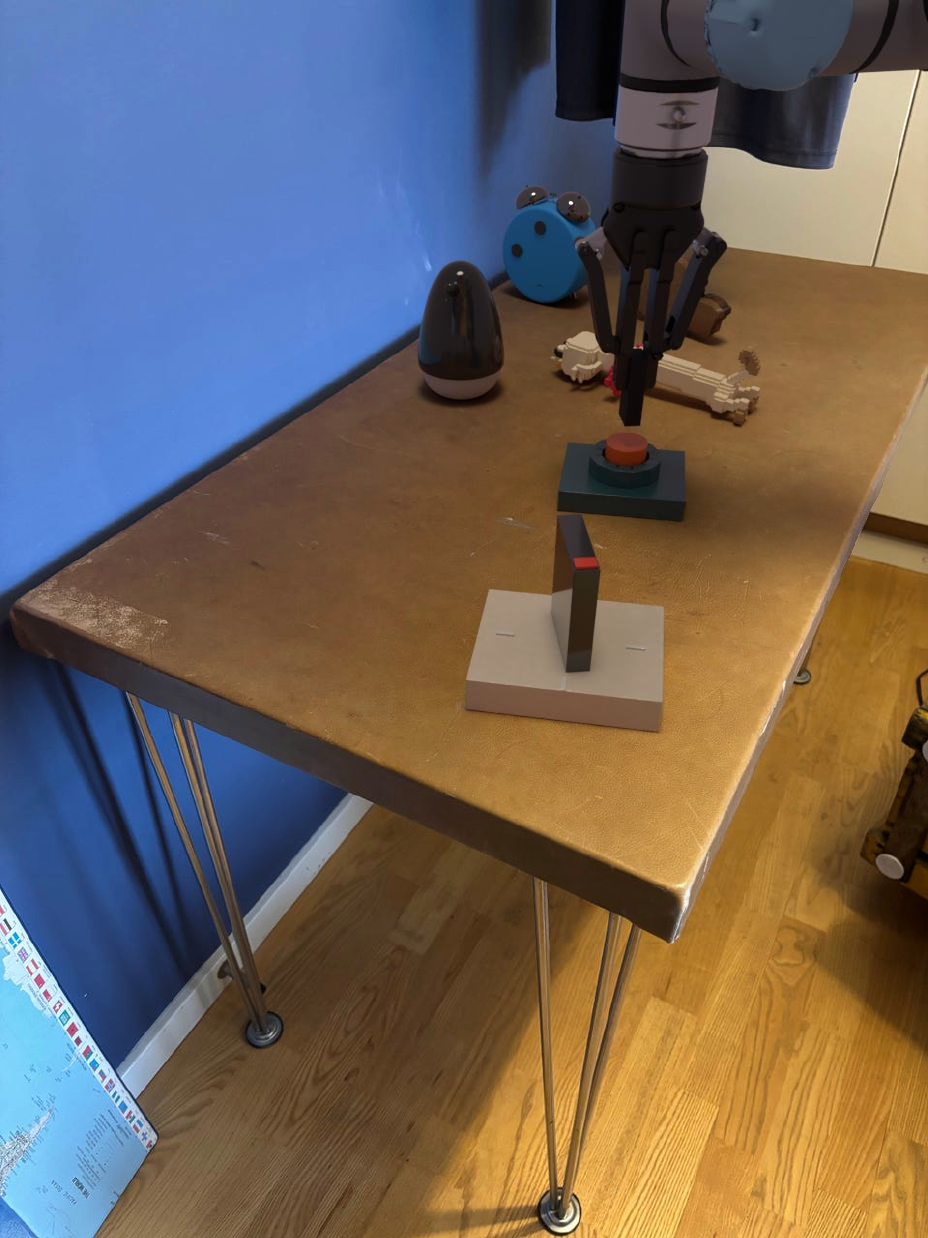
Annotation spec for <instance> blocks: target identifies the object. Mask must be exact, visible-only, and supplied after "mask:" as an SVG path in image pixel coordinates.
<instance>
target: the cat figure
mask: <svg viewBox="0 0 928 1238" xmlns="http://www.w3.org/2000/svg"><path fill="white" fill-rule="evenodd" d="M634 348H642V350H643V344H642V343H640V344H639V343H637V344H636V346H634ZM553 354H554V356H551V357H550V360H551V361H553V362H554V364H556V365H555V367H556V368H558V369H560V370H562V371H563V373H564V375H567V376H570V379H571V380H572V381H574V382H575V381H576V380H577V382H578V383H579V384H582V383H583V381H589V380H590V379H593V377H595V376H596V375H597V374H598V373H599V372H601V371H603V372H605V373H606V372H607V373H608V376H607V377H606V378H604V382H603V384H604V386H605V387H608V388H609V389H611V391H612V394H613V395H614V396H616V397H617V398H620V395H621V391H617V390H616V388H615V386H614V384H613V381H612V374H613V364H614V354H611V353H603V352H602V351H601V349H600V347H599V345H598V343H597V341H596V338H595V332H594V333H593V332H590V331H588V330H586V331H583V330H582V331H581V332H579V333H578V334H577V335H575V336H574V337H569V338H568V339H566V340H564V341H563V343H562V344H559V345H557V346H556V347H554V349H553ZM663 354H664V356H663V358H662V359H661V360H660V361H659V363H658V370H657V377H656V384H658V385H661V386H664V387H667V388H671V389H674V390H677V391H680V392H681V393H682V395H684V396H688V397H690V398H694V399H696V400H699V401H703V402H705V404H706V405H707V406H709V408H711V411H712V412H716V413H719V414H724V413H726V412H727V411H729V412H732V413H734V415H733V417H732V423H734V424H737V425H740V426H741V425H742V424H743V423H744V422H745V418H746V417H747V416H748V413H753V412H754V411H755V408H756V405H757V404H758V402H759V398H760V391H761V387H759V386H755V385H752V386H751V387H749V386H746V387H741V384H740V383H741V382H742V381H743V382H747V381H748V380H751V379H753V378H754V377H757V376H758V375H759V374H760V371H761V367H762V365H760V361H761V360H760V359H759V356H758V355H757V352H755V349H753V348H750V347H745V348H742V349H741V350H740V351H739V355H738V359H737V361H739V363H740V364H742V365H744V368H742V369H741V370H738V371H736V372H735V373H732V374H731V375H729V376H728V377H726V374H722V373H719V372H717V371H713V370H710V369H707V368H703V367H702V365H701V364H699V363H696V362H693V361H689V360H686V359H683V358H680V357H676V356H673V355H670V354H667V353H665V352H664V353H663ZM557 358H559V359H557Z"/></svg>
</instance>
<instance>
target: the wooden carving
mask: <svg viewBox="0 0 928 1238" xmlns="http://www.w3.org/2000/svg"><path fill="white" fill-rule="evenodd" d="M690 258H691V257H689V256H688V255H686V254H685V253H684V254H683V255H682V256H681V258H680V259H679V260H678V261H677V262H676V263H675V268H674V276H673V280H672V282H671V285H670V293H669V300H668V308H667V315H666V322H667V319H668V317H669V314H670V311H671V309H672V306H673V303H674V301H675V298H676V295H677V293H678V290H679V287H680V285H681V282H682V279H683V277H684V274H685V271H686V269H687V266H688V263H689V261H690ZM649 279H650V270H649V269H645V270H644V279H643V282H642V284H641V290H640V299H639V307H638V312H640V313H641V314H642V315H643V317H645V313H646V305H647V296H648V287H649ZM708 284H709V279H708V280H707V282H706V285H705V287H704V290H703V293H702V295H701V298H700V300H699V303H698V305H697V308H696V310H695V313H694V316H693V318H692V321H691V323H690V326H689V328H688V331H692V332H693V333H694V334H695V335H697V336H698V337H700V338H704V339H709V338H711V337H713V336H714V334H715V333H718V332H720V330H721V328H722V324H723V321H725V320H726V319H727V317H728V316H729V315H730V314H731V313H732V306H730V305H729V303H728V301H727V300H726V299H725V298H724V297H722V296H720V295H717V294H716V293H710V292H709V293H706V287H707V285H708ZM705 293H706V294H705ZM665 325H666V323H665Z"/></svg>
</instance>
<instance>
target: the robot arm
mask: <svg viewBox="0 0 928 1238" xmlns="http://www.w3.org/2000/svg"><path fill="white" fill-rule="evenodd" d="M624 3H625V4H624V16H623V29H622V30H623V31H622V43H621V44H622V45H621V57H620V74H619V83H618V90H617V100H616V101H617V102H616V112H615V121H614V122H615V123H614V134H613V138H614V140H615V141H616V142H617V144H619V145H618V147H616V148H615V150H614V151H613V152H612V156H611V168H610V178H609V179H610V180H609V191H608V203H607V206H606V210H605V212H603V215H602V216H601V219H600V224H599V226H600V227H598V228H597V229H596V230H595V231H594V232H592V233H591V234H589V235H588V236H587V237H583V236H579V237H577V238H576V239H575V240H574V242H573V246H574V248H575V250H576V252H577V254H578V255H579V257H580V259H581V261H582V262H583V264H584V270H585V276H586V282H587V284H586V287H587V288H586V289H587V294H588V301H589V306H590V313H591V318H592V325H593V332H594V334H595V338H596V341H597V343H598V345H599V347H600V349H601V351H602V352H603V353H611V354H614V364H613V374H612V381H613V384H614V386H615V388H616V390H617V391H621V392H620V394H621V395H620V397H619V405H618V417H619V418H620V420H621V422H622V424H623V426H624V428H626V427H627V428H628V427H641V422H642V415H643V406H644V400H645V392H646V390H654V388H655V386H656V385H657V383H656V377H657V370H658V363H659V361H660V360H661V359H662V358H663V356H664V354H665V353H666V352H668V351H678V350H680V349H681V348H682V346H683V344H684V341H685V338H686V336H687V334H688V331H689V330H688V328H689V326H690V323H691V321H692V318H693V316H694V313H695V310H696V308H697V305H698V303H699V300H700V298H701V295H702V293H703V290H704V287H705V285H706V282H707V280H708V281H709V277H710V274H711V272H712V269H713V268H714V267H715V265H716V264H717V263H718V261H719V260H721V258H722V256H723V255H724V254H725V253H726V251H727V249H728V243H727V241H725V239H724V238H723V237H722V236H720V234H719V233H717V231H711V230H710V229H709V228H707V227H706V226H705V217H704V215H703V212H702V201H703V197H704V191H705V190H704V189H705V184H706V177H707V170H708V163H709V155H708V154H707V151H706V150H705V149H704V147H706V146H708V145H709V143H710V142H711V139H712V133H713V127H714V121H715V113H716V107H717V106H716V105H717V99H718V94H719V93H718V92H719V85H720V82H721V78H722V79H724V80H729V81H730V82H731V83H733V84H739V85H740V87H742V88H744V89H749V90H754V91H756V90H759V89H764V90H768V91H769V90H770V91H774V92H787V91H790V90H791V91H792V90H794V89H797V88H801V87H802V86H803V85H805V84H806V83H808V82H811V80H813V79H814V78H820V77H821V78H822V77H835V76H836V77H837V76H846V75H854V74H863V73H866V74H867V73H882V72H900V71H901V72H902V71H903V72H904V71H922V72H924V73H925V72H928V0H625V2H624ZM607 242H608V244H609V246H610V247H611V249H612V250H613V252H614V254H615V256H616V257H617V258H618V260H619V262H620V283H619V291H618V292H619V293H618V301H617V302H618V303H617V312H616V321H615V332H614V334H613V329H612V321H611V313H610V308H609V301H608V296H607V295H608V294H607V288H606V281H605V275H604V270H603V267H602V264H601V262H600V261H602V260H603V259H604V257H605V254H606V252H605V245H606V243H607ZM691 245H692V251H693V253H692V255H691V257H689V258H690V261H689V263H688V266H687V269H686V271H685V274H684V277H683V279H682V282H681V285H680V287H679V290H678V293H677V295H676V298H675V301H674V303H673V306H672V309H671V311H670V314H669V317H668V319H667V322H666V315H667V308H668V300H669V293H670V285H671V282H672V280H673V276H674V268H675V263H676V262H677V261H678V260H679V259H680V258H681V256H682V255H683V254H684V255H685V252H687V251H688V249H689V248H690V247H691ZM645 269H649V270H650V279H649V287H648V296H647V305H646V313H645V316H644V322H643V332H642V340H641V344H643V350H642V348H634V347H635V341H636V332H637V325H638V324H637V323H638V315H639V310H638V307H639V299H640V290H641V284H642V282H643V279H644V270H645ZM705 288H706V287H705ZM665 323H666V325H665ZM663 353H664V354H663Z"/></svg>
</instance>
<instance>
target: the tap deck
mask: <svg viewBox="0 0 928 1238" xmlns="http://www.w3.org/2000/svg"><path fill="white" fill-rule="evenodd" d="M551 602H552V594H545V593H544V594H541V593H535V592H534V593H533V592H523V591H513V590H502V589H495V588H494V589H493V588H489V589H488V592H487V596H486V599H485V604H484V608H483V611H482V614H481V618H480V623H479V626H478V631H477V634H476V639H475V641H474V642H475V643H474V646H473V650H472V653H471V656H470V657H471V658H470V662H469V665H468V669H467V673H466V677H465V709H466V710H471V711H479V712H486V713H487V712H488V713H494V714H503V715H512V716H520V717H528V718H538V719H544V720H545V719H546V720H554V721H561V722H570V723H579V724H588V725H594V726H595V725H596V726H604V727H614V728H620V729H629V730H637V731H646V732H653V733H658V732H659V729H660V722H661V716H662V711H663V707H664V706H663V705H664V675H665V674H664V671H665V670H664V667H665V666H664V664H665V654H664V653H665V606H662V605H655V604H654V605H653V604H643V603H635V602H634V603H633V602H623V601H615V600H614V601H612V600H604V599H598V601H597V610H596V620H595V629H594V638H593V648H592V657H591V667H590V671H577V672H566V671H565V667H564V663H563V659H562V655H561V651H560V647H559V643H558V639H557V635H556V631H555V627H554V623H553V619H552V615H551Z"/></svg>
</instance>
